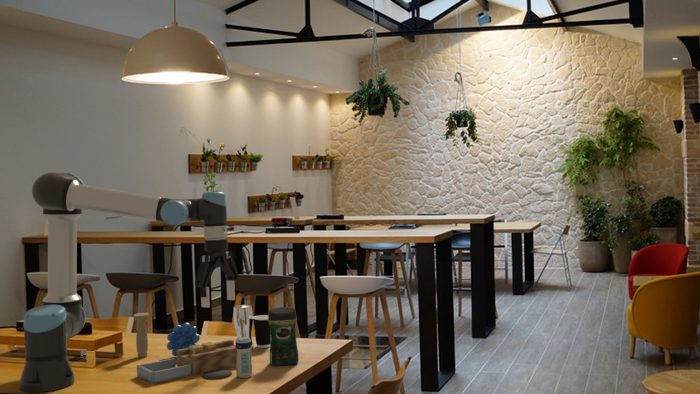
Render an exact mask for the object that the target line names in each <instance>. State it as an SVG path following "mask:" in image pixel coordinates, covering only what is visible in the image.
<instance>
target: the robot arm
mask: <svg viewBox="0 0 700 394" xmlns="http://www.w3.org/2000/svg"><path fill="white" fill-rule="evenodd" d="M31 197H32V198H33V200H34V202H35V203H36V204H37V205H38V206H39V207H41V208H42V216H43V217H44V218H46V219H47V295H46V296H45V297H43V298H42V305H40V306H38V307H33V308H31V309H28V310H27V311H26V312H25V313H24V316H23V334H24V335H23V336H24V361H25V362H24V366H23V370H22V372H21V375H20V379H19V390H20V391H22V392H24V393H25V392H26V393H40V392H41V393H44V392H51V391H55V390H60V389H64V388H67V387H69V386H72V385H73V384H74V383H75V372H74V370H73V368H72V366H71V363H70V360H69V358H68V340H70V339H73V338H74V337H76V336H77V335H78V334H79V333H80V332H81V331H82V329H83V328H84V326H85V324H86V319H87V315H86V312H85V309H84V307H83V306H82V296H80V295H79V294H78V292H77V289H78V288H77V286H78V285H77V284H78V283H77V278H78V277H77V268H78V267H77V264H78V262H77V261H78V260H77V257H78V252H77V250H78V249H77V248H78V247H77V246H78V245H77V244H78V239H77V238H78V237H77V236H78V235H77V234H78V232H77V231H78V219H79V218H80V217H81V216H82V215H83V210H84V211H89V212H90V211H91V212H96V213H102V214H109V215H114V216H115V215H116V216H120V217H121V216H122V217H127V218H129V217H130V218H134V219H140V220H141V219H142V220H146V221H147V220H148V221H153V222H159V223H164V224H168V225H171V226H179V225H181V224H184V223H194V222H195V223H196V222H203V239H205V240H204V242H203V243H204V251H205V252H206V253H207V254H206V255H200V262H199V267H198V270H197V274H196V278H195V282H194V286H196V287H197V288H199V294H200V300H201V302H200V303H201V304H200V305H201V308H210V306H211V302H210V287H209V286H208V284H209V283H210V280H211V277H213V276H212V275H213V273H214V271H215V270H216V269H217V268H218V269H219V268H220V269H221V270H222V272H223V273H224V275H225V277H226V278H227V280H226V300H227V301H235V300H236V291H235V290H236V281H238V278H239V277H240V274H239V271H238V269H237V266H236V264H235V261H234V258H233V252H232V251H229V241H228V239H227V238H228V217H227V216H228V215H227V214H228V213H227V212H228V211H227V201H226V194H225V193H224V192H223V191H211V192H209V191H207V192H202V196H201V198H185V199H184V198H183V199H182V198H181V199H177V198H176V199H175V198H166V197H161V196H155V195H150V194H143V193H137V192H132V191H131V192H130V191H125V190H119V189H118V190H117V189H112V188H107V187H106V188H105V187H99V186H93V185H90V184H89V185H87V184H85V183H84V181H83V180H82V179H81V178H79V177H78V176H77V175H75V174H72V173H69V172H46V173H43V174H41V175H39V177H37V178H36V179H35V181H33V184H32V187H31Z"/></svg>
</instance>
